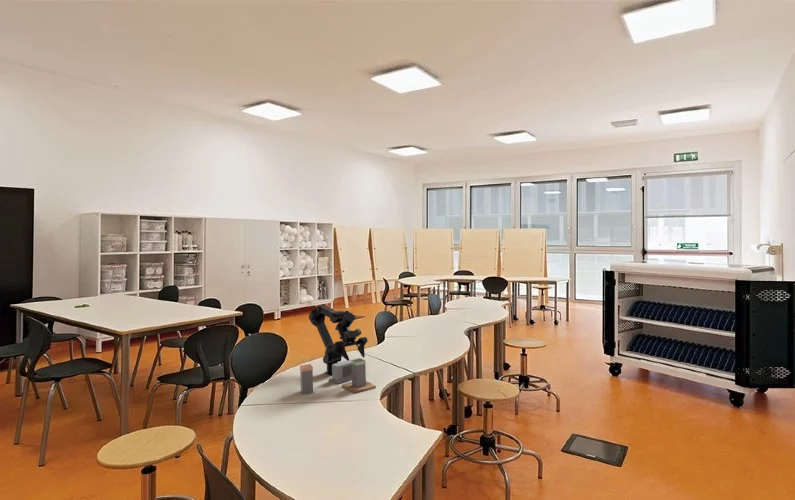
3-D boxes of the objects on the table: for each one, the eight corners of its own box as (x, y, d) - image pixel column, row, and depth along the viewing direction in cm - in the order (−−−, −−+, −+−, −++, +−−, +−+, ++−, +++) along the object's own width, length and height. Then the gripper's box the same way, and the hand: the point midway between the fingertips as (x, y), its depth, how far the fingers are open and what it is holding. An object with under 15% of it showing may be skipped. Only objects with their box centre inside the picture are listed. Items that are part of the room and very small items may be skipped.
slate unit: (329, 380, 228) (328, 364, 228) (351, 374, 237) (350, 358, 237) (337, 384, 222) (337, 367, 222) (360, 377, 231) (359, 361, 231)
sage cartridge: (351, 384, 218) (351, 360, 217) (360, 382, 221) (360, 358, 220) (357, 387, 213) (356, 362, 213) (366, 385, 217) (365, 360, 216)
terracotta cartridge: (300, 390, 214) (299, 365, 213) (311, 389, 216) (310, 364, 215) (302, 394, 209) (301, 368, 209) (313, 392, 211) (312, 367, 210)
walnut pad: (342, 386, 219) (342, 384, 218) (363, 381, 226) (363, 379, 225) (354, 393, 209) (354, 391, 209) (375, 387, 216) (375, 385, 216)
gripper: (335, 325, 217) (346, 353, 209) (366, 321, 228) (378, 347, 220) (326, 338, 223) (337, 365, 215) (357, 333, 235) (369, 358, 227)
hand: (356, 358), depth 219 cm, fingers open, 9 cm apart
